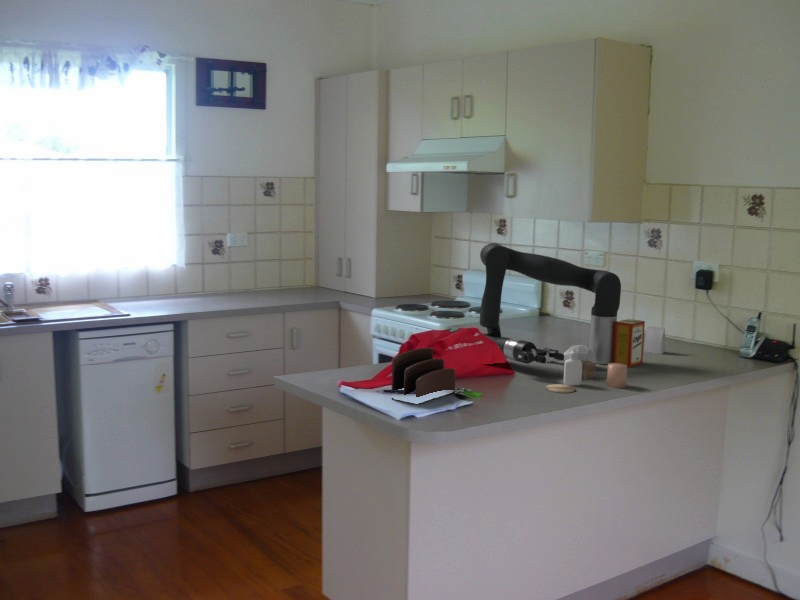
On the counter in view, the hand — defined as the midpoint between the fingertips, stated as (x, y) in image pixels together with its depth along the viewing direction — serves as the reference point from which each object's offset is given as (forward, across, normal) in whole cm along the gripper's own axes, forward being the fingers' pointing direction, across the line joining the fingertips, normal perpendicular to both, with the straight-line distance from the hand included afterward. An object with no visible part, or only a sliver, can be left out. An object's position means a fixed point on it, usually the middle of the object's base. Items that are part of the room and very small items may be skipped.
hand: (554, 358), depth 290 cm
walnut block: (+3, +12, +7) cm, 14 cm away
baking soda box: (-2, +41, +7) cm, 42 cm away
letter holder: (-8, -50, +7) cm, 51 cm away
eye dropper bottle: (+8, 0, +7) cm, 11 cm away
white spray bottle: (-13, +21, +7) cm, 26 cm away
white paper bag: (-10, +67, +7) cm, 68 cm away
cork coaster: (+10, -8, +7) cm, 15 cm away
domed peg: (+18, +10, +7) cm, 22 cm away
